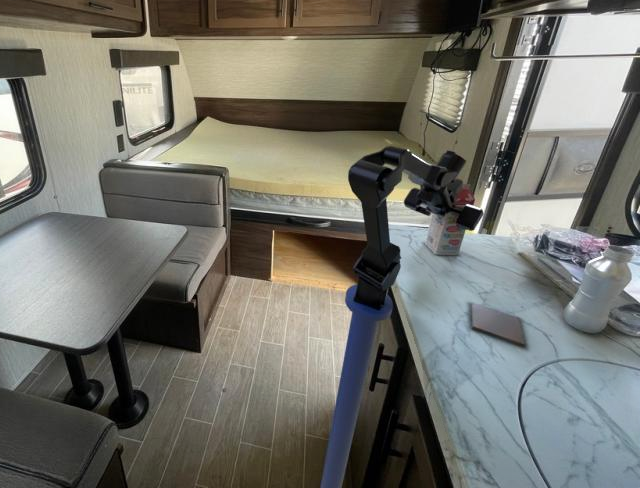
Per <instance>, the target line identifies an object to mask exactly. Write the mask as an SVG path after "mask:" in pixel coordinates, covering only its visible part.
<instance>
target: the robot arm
mask: <svg viewBox="0 0 640 488" xmlns="http://www.w3.org/2000/svg"><path fill="white" fill-rule="evenodd" d="M466 164H467V160H466V159H465V158H463V157H462V156H461V155H460V154H457V152H456V151H453V150H449V149H448V150H446V152H444V153H442V155H441V157H440V158H439V159H438V161H437V162H436V164H432V163H428V162H426V161H424V160H423V159H422V158H419V157H418V156H416V155H415V154H413V152H412V151H410V150H409V149H407V148H402V147H398V146H393V145H386V146H385V147H383V148H381V150H379V151H375V152H372V153H369V154H366V155H364V156H362V157H361V158H360V159H359V160H356V162H355V163H353V164H352V165H350V168H349V169H348V172H347V181H348V184H349V187H350V189H351V192H352V193H353V194H354V196H356V198H357V199H358V200H359V201H360V202H361V204H360V205H361V211H362V218H363V223H364V224H363V225H364V231H365V237H366V244H367V245H366V247H365V248H364V249H363V250H362V251H361V255H360V256H359V257H358V259H357V261H356V262H355V264H354V265H353V267H352V274H354V275H356V276H357V277H358V278H357V283H356V284H357V289H356V294H355V296H354V298H353V301H355V302H357V303H360V304H362V305H365V306H368V307H370V308H373V309H376V310H378V311H379V310H380V309H381V306H382V305H384V303H385V300H386V296H387V294H388V292H389V289H390V288H391V287H393V286H394V285H395V282H396V280H397V278H398V276H399V273H400V271H401V268H402V265H401V259H402V255H401V248H400V246H399V245H397V244H395V243H393V242H391V238H390V226H389V214H388V204H387V198H388V197H389V196H390V195H391V194H392V193H393V192H394V190H395V187H396V186H398V185H399V184H400V183H402V180H403V173H404V174H405V175H408V177H407V178H408V180H409V181H410V182H411V183H412V184H414V185H418V186H420V187H419V188H417V187H413V188H411V189H410V190H409V191H408V193H407V194H406V196H405V198H404V199H403V205H404V206H405V208H407V209H410V210H411V211H414V212H417V213H420V214H422V215H425V216H427V217H430V216H432V213H433V214H436V215H439V216H442V217H444V216H445V215H446V214H447V213H451V214H454V215H457V216H458V218H457V221H456V226H457V227H459V228H462V229H465V230H466V231H469V232H472V231H475V229H476V228H477V227H478V225H479V223H480V221H481V220H482V218H483V216H484V210H483V209H482V208H481V207H478V206H475V205H473V206H472V205H469V204H467V205H465V207H464V208H461V207H458V206H455V205H452V204H453V203H454V204H455V203H456V201H457V198H456V197H457V195H458V194H459V193H460V192H461V191H462V186H463V184H464V181H463V180H462V179H460V178H458V176H459V175H460V174H461V171H463V169H464V167H465V165H466ZM385 165H388V166H391V167H393V168H394V169H393V168H390V167H388V166H385Z"/></svg>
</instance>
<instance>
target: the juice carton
mask: <svg viewBox="0 0 640 488" xmlns="http://www.w3.org/2000/svg"><path fill="white" fill-rule="evenodd" d="M471 186H472V184H471V183H463V186H462V191H461V192H460V193H459V194H458V195H457V197H456V198H457V201H456V203H455V204H454V203H453V204H452V205H455V206H458V207H461V208H464V207H465V205H467V204H469V205H472V206H475V202H476V198H475V196H474V195H473V193H472V192H471ZM457 218H458V216H457V215H454V214H451V213H447V214H446V215H445V216H444V217H442V216H439V215H436V214H433V213H431V217H430V222H429V224H428V228H427V232H426V237H425V241H424V244H425V246H426V247H428V248H429V250H430V251H431V252H432V253H433V254H434V255H435V256H459V253H460V249H461V246H462V243H463V240H464V237H465V234H466V231H467V230H465V229H462V228H459V227H457V226H456V221H457Z"/></svg>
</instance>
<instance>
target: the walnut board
mask: <svg viewBox="0 0 640 488" xmlns="http://www.w3.org/2000/svg"><path fill="white" fill-rule="evenodd" d="M470 313H471V314H470V316H471V317H470V318H471V329H472V330H474V331H477V332H479V333H482V334H485V335H488V336H490V337H493V338H496V339H498V340H502V341H505V342H508V343H510V344H513V345H516V346H517V347H521V348H525V346H526V343H525V338H524V334H523V329H522V324H521V320H520V317H519V316H515V315H512V314H510V313H507V312H503V311H501V310H497V309H494V308H491V307H487V306H485V305H481V304H478V303H475V302H471V303H470Z"/></svg>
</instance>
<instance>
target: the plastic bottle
mask: <svg viewBox="0 0 640 488" xmlns="http://www.w3.org/2000/svg"><path fill="white" fill-rule="evenodd" d="M634 254H635V253H634V252H633V251H632V250H629V249H628V248H625V247H622V246H619V245H613V244H609V245H607V246H606V247H605V249H604V250H603V251H602V254H601V255H602V256H598V257H596V258H593V259H591V260H590V261H588V262H587V263H586V264H585V267H584V271H583V275H582V280H581V282H580V285H579V287H578V290H577V292H576V293H575V294H574V296H573V297H572V300H571V301H569V302H568V303H567V305H566V306H565V307H564V308H563V309H564V310H563V315H562V316H563V318H564V320H565V322H566V323H567V324H569V325H570V326H571V327H573V328H575V329H576V330H578V331H581V332H584V333H588V334H598V333H602V331H604V329H606V327H607V326H608V322H609V317H610V313H611V311H612V308H613V305H614V303H616V300H617V299H618V297H619V296H620V294H621V293H622V292H623V291H624V290H625V288H626V287H627V286H628V285H629V284H630V283H631V281H632V280H633V277H632V276H633V274H632V271H631V268H630V267H629V265H628V263H631V261H632V258H633V257H634Z"/></svg>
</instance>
